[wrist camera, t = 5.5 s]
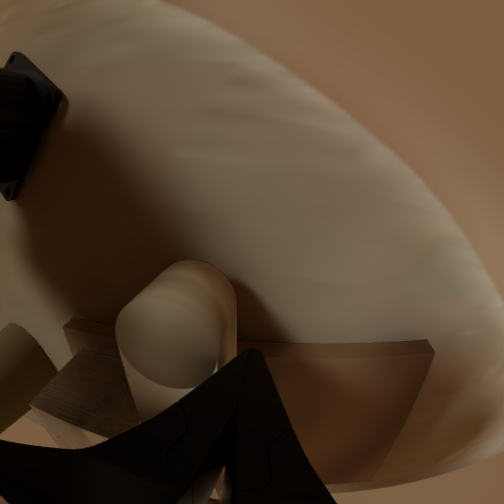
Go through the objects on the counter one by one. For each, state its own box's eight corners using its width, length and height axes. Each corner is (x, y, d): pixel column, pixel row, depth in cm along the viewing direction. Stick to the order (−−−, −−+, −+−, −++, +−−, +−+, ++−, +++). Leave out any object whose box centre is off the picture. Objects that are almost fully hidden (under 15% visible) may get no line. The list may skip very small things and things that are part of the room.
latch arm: (248, 481, 14) (241, 519, 11) (181, 469, 14) (168, 504, 11) (258, 264, 9) (245, 309, 6) (136, 255, 10) (87, 288, 7)
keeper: (250, 459, 15) (235, 536, 9) (142, 441, 16) (111, 504, 10) (238, 348, 12) (205, 462, 6) (97, 333, 13) (29, 403, 7)
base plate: (126, 445, 16) (122, 454, 15) (73, 317, 13) (62, 326, 12) (368, 469, 14) (370, 480, 13) (427, 339, 11) (435, 352, 10)
